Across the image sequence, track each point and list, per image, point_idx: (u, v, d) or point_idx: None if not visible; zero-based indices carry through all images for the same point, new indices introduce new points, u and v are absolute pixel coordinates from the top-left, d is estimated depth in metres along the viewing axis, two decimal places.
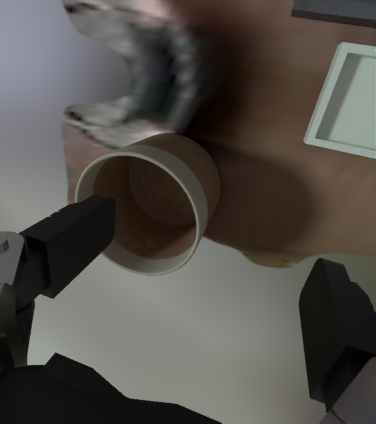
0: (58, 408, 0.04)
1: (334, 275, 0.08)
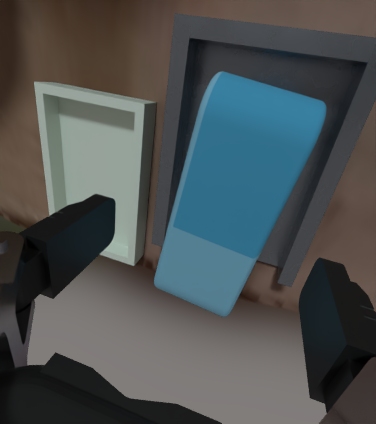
0: (58, 408, 0.04)
1: (334, 275, 0.08)
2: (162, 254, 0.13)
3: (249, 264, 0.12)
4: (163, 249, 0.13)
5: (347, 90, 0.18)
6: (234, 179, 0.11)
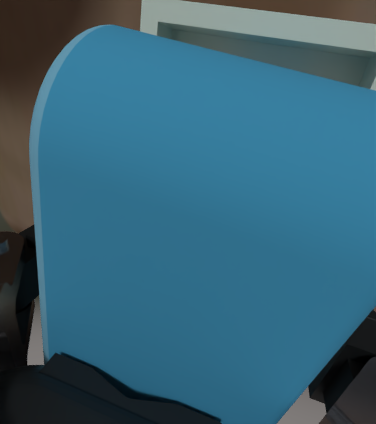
0: (58, 408, 0.04)
1: None
2: None
3: None
4: None
5: None
6: (158, 325, 0.04)
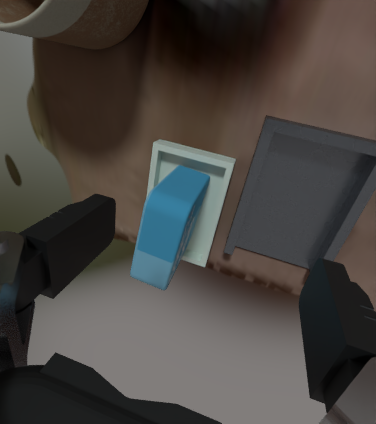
0: (58, 408, 0.04)
1: (334, 275, 0.08)
2: (133, 261, 0.29)
3: (170, 265, 0.28)
4: (133, 259, 0.29)
5: (364, 165, 0.30)
6: (159, 231, 0.26)
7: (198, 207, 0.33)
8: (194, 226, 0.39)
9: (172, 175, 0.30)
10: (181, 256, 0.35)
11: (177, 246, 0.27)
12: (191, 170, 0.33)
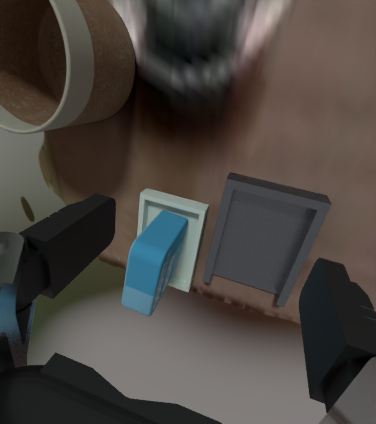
0: (58, 408, 0.04)
1: (334, 275, 0.08)
2: (123, 294, 0.36)
3: (151, 298, 0.35)
4: (123, 292, 0.36)
5: (310, 213, 0.36)
6: (141, 272, 0.33)
7: (178, 246, 0.40)
8: None
9: (154, 222, 0.38)
10: (165, 285, 0.42)
11: (156, 284, 0.34)
12: (171, 215, 0.40)
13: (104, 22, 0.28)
